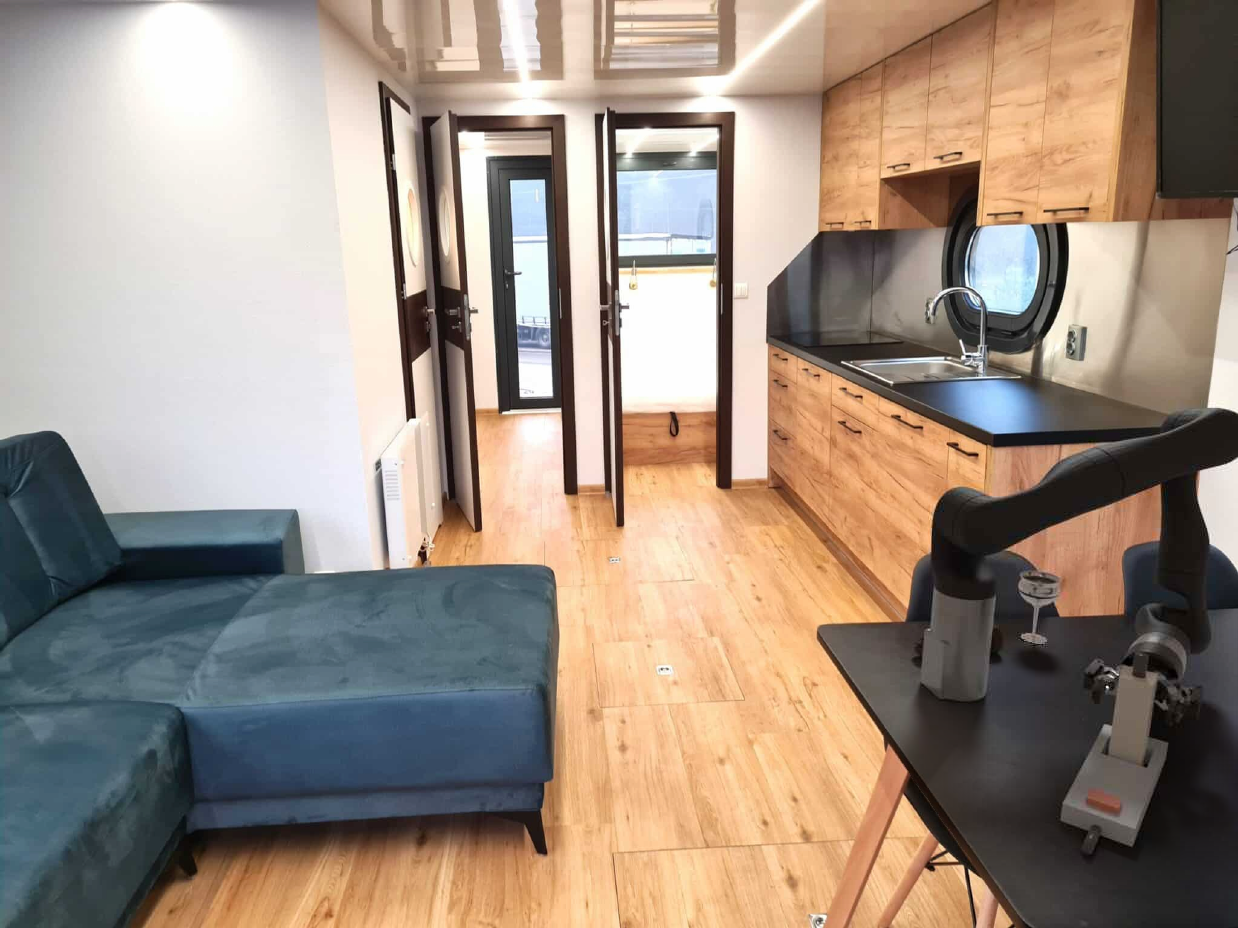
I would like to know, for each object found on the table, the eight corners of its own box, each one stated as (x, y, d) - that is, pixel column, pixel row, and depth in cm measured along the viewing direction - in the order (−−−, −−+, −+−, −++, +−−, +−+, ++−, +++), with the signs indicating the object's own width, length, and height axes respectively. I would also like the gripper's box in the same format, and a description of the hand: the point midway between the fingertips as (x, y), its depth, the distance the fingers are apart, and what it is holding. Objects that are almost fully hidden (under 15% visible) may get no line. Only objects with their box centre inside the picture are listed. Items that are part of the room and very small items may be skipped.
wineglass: (1061, 645, 160) (1069, 582, 157) (1028, 648, 158) (1035, 585, 155) (1037, 629, 166) (1044, 569, 163) (1005, 632, 165) (1011, 572, 162)
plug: (1139, 779, 120) (1156, 664, 116) (1106, 768, 122) (1122, 655, 118) (1144, 765, 123) (1161, 653, 119) (1111, 756, 125) (1127, 645, 121)
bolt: (914, 665, 156) (990, 654, 159) (928, 664, 151) (1007, 652, 154) (907, 632, 158) (982, 621, 161) (921, 629, 153) (998, 618, 156)
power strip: (1123, 869, 103) (1127, 844, 102) (1049, 840, 108) (1052, 817, 107) (1165, 758, 125) (1169, 737, 124) (1102, 739, 129) (1105, 718, 129)
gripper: (1104, 628, 135) (1078, 667, 123) (1215, 655, 126) (1198, 699, 114) (1097, 673, 137) (1071, 716, 125) (1206, 702, 128) (1190, 751, 116)
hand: (1132, 708), depth 119 cm, fingers open, 8 cm apart
